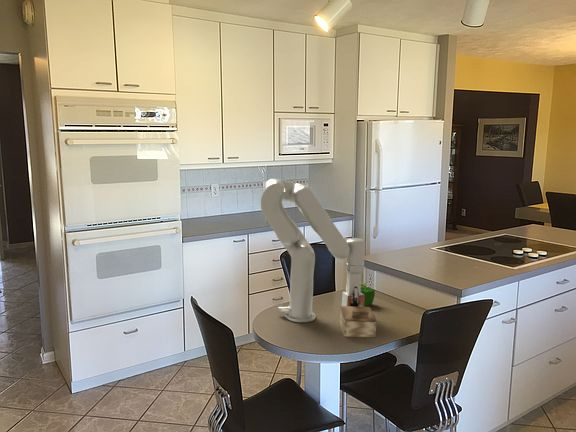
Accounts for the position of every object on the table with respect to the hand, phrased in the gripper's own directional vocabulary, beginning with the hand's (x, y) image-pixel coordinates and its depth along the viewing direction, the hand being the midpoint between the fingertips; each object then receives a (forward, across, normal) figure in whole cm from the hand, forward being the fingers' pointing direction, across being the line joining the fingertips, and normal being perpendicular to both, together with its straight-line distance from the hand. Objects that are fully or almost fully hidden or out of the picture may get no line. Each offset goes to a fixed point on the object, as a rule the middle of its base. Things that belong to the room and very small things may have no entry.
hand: (352, 308), depth 204 cm
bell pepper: (+4, -16, +8) cm, 18 cm away
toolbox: (+4, +14, 0) cm, 15 cm away
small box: (+4, 0, 0) cm, 4 cm away
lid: (-3, +14, 0) cm, 14 cm away
